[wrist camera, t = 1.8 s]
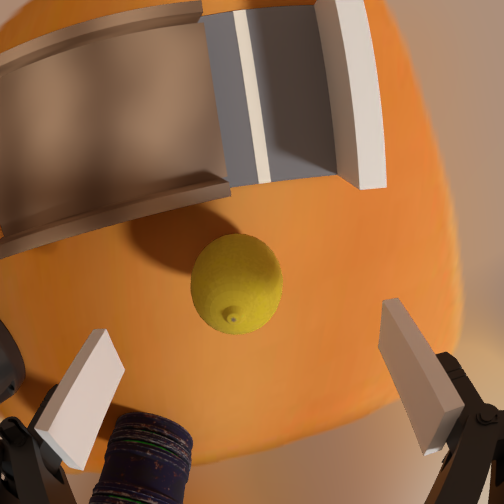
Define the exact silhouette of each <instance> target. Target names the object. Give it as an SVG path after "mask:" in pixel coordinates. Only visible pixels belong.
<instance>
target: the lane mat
mask: <svg viewBox="0 0 504 504" xmlns="http://www.w3.org/2000/svg"><path fill="white" fill-rule="evenodd" d="M246 16H247V22H248V28H249V34H250V40H251V47H252V53H253V59H254V66H255V72H256V79H257V85H258V92H259V99H260V106H261V112H262V119H263V127H264V134H265V141H266V148H267V156H268V163H269V171H270V178H271V182H275V181H283V180H292V179H300V178H309V177H319V176H329V175H337V163H336V152H335V141H334V132H333V122H332V114H331V106H330V98H329V90H328V83H327V76H326V70H325V63H324V57H323V51H322V45H321V39H320V34H319V28H318V23H317V18H316V13H315V8H314V5H299V6H280V7H267V8H256V9H247V10H246ZM203 22H204V26H205V33H206V40H207V47H208V54H209V60H210V67H211V74H212V80H213V87H214V93H215V100H216V106H217V113H218V119H219V126H220V132H221V138H222V145H223V151H224V157H225V164H226V170H227V176H228V177H223V178H222V179H224V180H226V181H228V182H229V185H230V188H231V187H238V186H245V185H252V184H259V181H258V174H257V167H256V160H255V153H254V146H253V139H252V132H251V125H250V118H249V111H248V105H247V98H246V91H245V85H244V78H243V71H242V65H241V58H240V52H239V46H238V39H237V33H236V27H235V21H234V14H233V11H232V12H225V13H219V14H213V15H207V16H202V17H200V19H199V21H198V23H203Z"/></svg>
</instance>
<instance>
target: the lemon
mask: <svg viewBox="0 0 504 504" xmlns="http://www.w3.org/2000/svg"><path fill="white" fill-rule="evenodd" d="M282 285H283V277H282V272H281V268H280V264H279V262H278V260H277V258H276V256H275V255H274V253H273V251H272V250H271V249H270V248H269V247H268V246H267V245H266V244H265V243H264V242H262V241H260V240H259V239H257V238H255V237H253V236H249V235H246V234H235V233H234V234H229V235H224V236H222V237H219V238H217V239H215V240H213V241H212V242H211V243H210V244H208V245H207V246H206V247H205V248H204V249H203V250H202V252H201V253H200V255H199V256H198V257H197V259H196V262H195V264H194V267H193V270H192V274H191V295H192V299H193V303H194V306H195V308H196V310H197V312H198V314H199V315H200V317H201V318H202V319H203V320H204V321H205V322H206V323H207V324H208V325H209V326H211V327H212V328H214V329H215V330H217V331H220V332H223V333H227V334H233V335H238V334H246V333H250V332H253V331H255V330H257V329H259V328H261V327H262V326H263V325H264V324H266V323H267V322H268V321H269V320H270V318H271V317H272V316H273V314H274V313H275V312H276V310H277V307H278V304H279V302H280V299H281V295H282Z"/></svg>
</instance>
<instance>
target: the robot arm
mask: <svg viewBox="0 0 504 504" xmlns="http://www.w3.org/2000/svg"><path fill="white" fill-rule="evenodd" d="M378 348H379V350H380V352H381V354H382V356H383V359H384V361H385V363H386V365H387V368H388V370H389V372H390V374H391V377H392V379H393V381H394V384H395V386H396V388H397V391H398V393H399V395H400V398H401V400H402V403H403V405H404V407H405V410H406V412H407V415H408V417H409V419H410V422H411V425H412V427H413V430H414V432H415V435H416V437H417V440H418V443H419V445H420V448H421V450H422V453H423V456H425V455H428V454H431V453H434V452H437V451H440V450H442V448H443V446H444V444H445V443H447V445H448V447H449V451H448V453H447V454H446V456H445V458H444V459H443V461H442V463H443V465H442V467H441V469H440V472H439V474H438V476H437V478H436V481H435V483H434V485H433V487H432V489H431V491H430V493H429V495H428V497H427V499H426V501H425V503H424V504H477V503H478V500H479V498H480V495H481V492H482V489H483V486H484V484H485V481H486V478H487V474H488V471H489V468H490V465H491V478H490V490H489V500H488V504H504V410H498V409H497V408H496V407H495V406H493V405H491V404H486V403H484V402H483V400H482V399H481V397H480V396H479V394H478V392H477V391H476V389H475V387H474V386H473V384H472V383H471V381H470V380H469V378H468V376H466V373H465V372H464V370H463V369H462V367H461V365H460V364H459V362H458V361H457V359H456V358H455V357H453V356H452V355H450V354H449V353H448V352H443V353H439V354H436V355H435V354H434V352H433V350H432V349H431V347H430V346H429V344H428V342H427V341H426V339H425V338H424V336H423V335H422V333H421V332H420V330H419V329H418V327H417V325H416V324H415V322H414V321H413V319H412V318H411V316H410V315H409V313H408V312H407V310H406V309H405V307H404V306H403V305H402V303H401V302H400V300H399V299H398V298H394V299H389V300H383V303H382V315H381V326H380V335H379V344H378ZM124 371H125V369H124V367H123V365H122V363H121V361H120V359H119V356H118V354H117V352H116V350H115V348H114V346H113V343H112V341H111V339H110V337H109V334H108V332H107V330H106V329H94V330H93V331H92V333H91V334H90V336H89V337H88V339H87V340H86V342H85V343H84V345H83V346H82V348H81V350H80V351H79V353H78V354H77V356H76V357H75V359H74V361H73V362H72V364H71V365H70V367H69V369H68V370H67V372H66V374H65V375H64V377H63V379H62V380H61V382H60V384H56V385H55V386H54V387H52V388H51V389H50V390H49V391H48V393H47V395H46V396H45V398H44V401H42V403H41V405H40V407H39V408H38V410H37V412H36V413H35V415H34V417H33V419H32V420H31V422H30V424H29V426H28V428H26V427H25V426H24V425H23V423H22V422H21V421H20V420H19V419H18V418H17V417H13V416H11V417H8V418H6V419H4V420H3V421H2V422H1V423H0V436H1V438H2V439H0V504H77V503H76V501H75V498H74V496H73V493H72V491H71V488H70V486H69V483H68V480H67V478H66V475H65V472H64V470H63V468H62V466H61V465H60V464H61V462H62V460H63V461H64V462H65V463H66V464H67V465H68V466H69V467H71V468H74V469H79V470H84V467H85V465H86V462H87V459H88V457H89V454H90V452H91V449H92V446H93V444H94V441H95V439H96V436H97V434H98V431H99V429H100V427H101V424H102V422H103V419H104V417H105V414H106V412H107V410H108V407H109V405H110V403H111V400H112V398H113V396H114V393H115V391H116V389H117V386H118V384H119V382H120V380H121V377H122V375H123V373H124ZM24 379H25V366H24V362H23V359H22V356H21V354H20V351H19V349H18V347H17V345H16V343H15V342H14V340H13V338H12V337H11V335H10V333H9V332H8V330H7V329H6V328H5V326H4V325H3V323H2V322H1V321H0V404H1V403H2V402H4V401H5V400H7V399H8V398H10V397H11V396H12V395H14V394H15V393H16V392H17V390H18V389H19V387H20V386H21V384H22V383H23V381H24ZM1 473H2V474H3V475H4V476H5V479H4V480H2V479H1Z"/></svg>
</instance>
